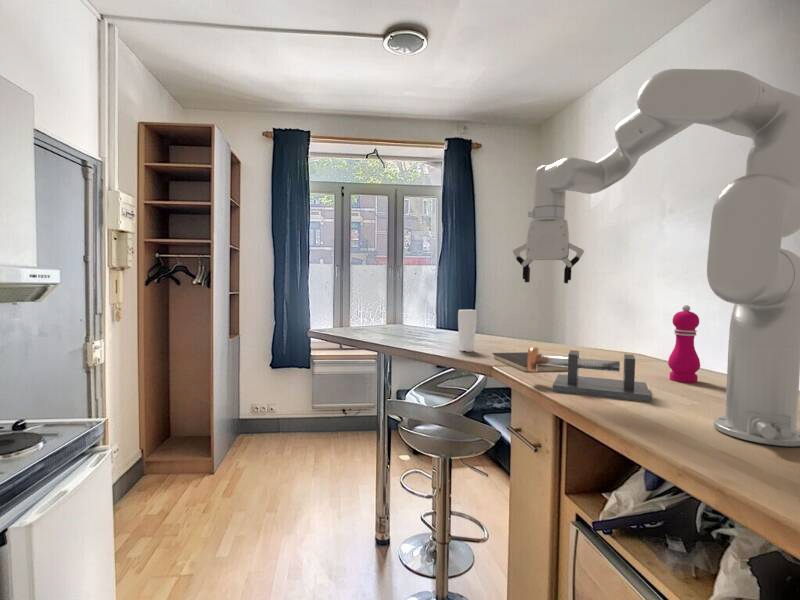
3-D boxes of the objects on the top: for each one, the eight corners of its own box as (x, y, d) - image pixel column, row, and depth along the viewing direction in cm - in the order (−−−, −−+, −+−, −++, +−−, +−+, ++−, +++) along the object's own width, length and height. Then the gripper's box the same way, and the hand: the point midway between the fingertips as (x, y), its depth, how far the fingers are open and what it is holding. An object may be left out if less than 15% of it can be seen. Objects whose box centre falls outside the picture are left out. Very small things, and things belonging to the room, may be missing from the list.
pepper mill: (704, 384, 115) (708, 306, 115) (673, 382, 117) (676, 305, 116) (692, 378, 123) (695, 304, 122) (663, 376, 124) (666, 304, 123)
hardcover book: (523, 373, 128) (523, 365, 128) (492, 359, 151) (492, 352, 151) (574, 372, 131) (575, 364, 131) (536, 359, 154) (536, 352, 154)
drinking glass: (454, 349, 167) (455, 309, 166) (470, 349, 169) (471, 309, 168) (462, 352, 161) (463, 310, 160) (479, 352, 163) (480, 310, 162)
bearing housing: (645, 388, 109) (646, 353, 109) (650, 402, 97) (652, 362, 96) (558, 379, 118) (559, 347, 117) (552, 391, 105) (553, 355, 104)
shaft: (618, 376, 108) (619, 352, 108) (619, 381, 103) (620, 355, 102) (530, 368, 116) (531, 345, 116) (526, 372, 111) (527, 348, 111)
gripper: (511, 214, 115) (509, 281, 116) (584, 212, 108) (581, 283, 109) (517, 218, 122) (515, 281, 123) (586, 216, 114) (583, 283, 115)
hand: (546, 282), depth 116 cm, fingers open, 9 cm apart
